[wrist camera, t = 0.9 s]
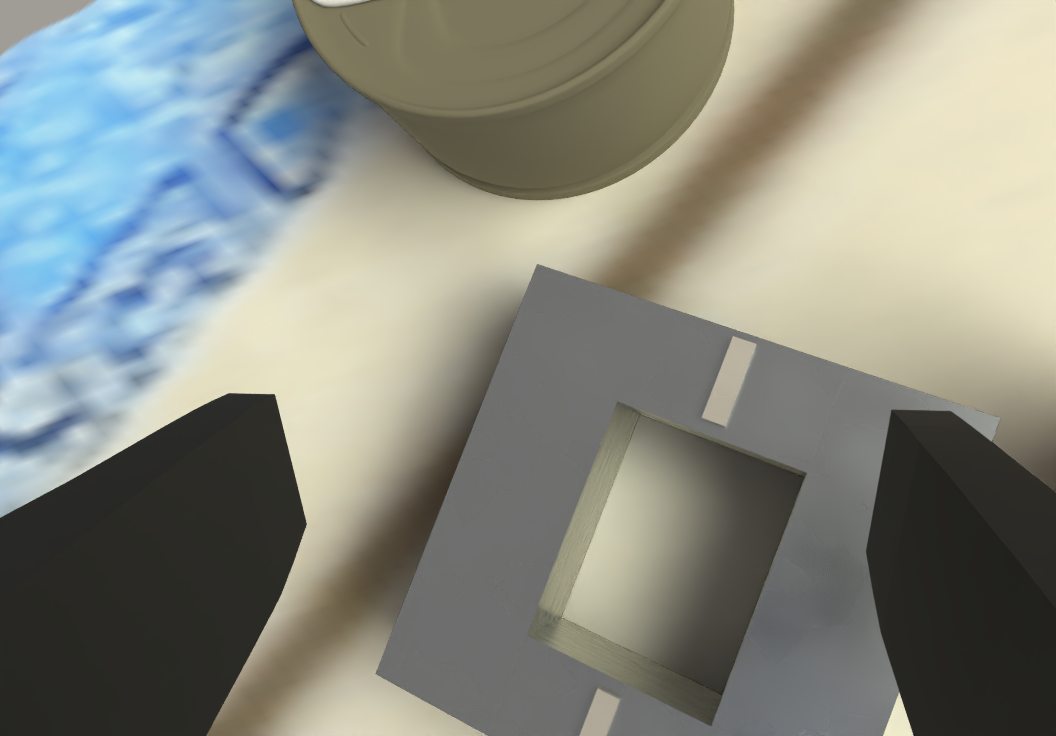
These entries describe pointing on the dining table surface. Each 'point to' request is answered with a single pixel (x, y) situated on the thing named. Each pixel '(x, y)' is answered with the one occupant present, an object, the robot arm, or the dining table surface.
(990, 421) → the block with rectangular hole
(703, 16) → the can
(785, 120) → the dining table surface
